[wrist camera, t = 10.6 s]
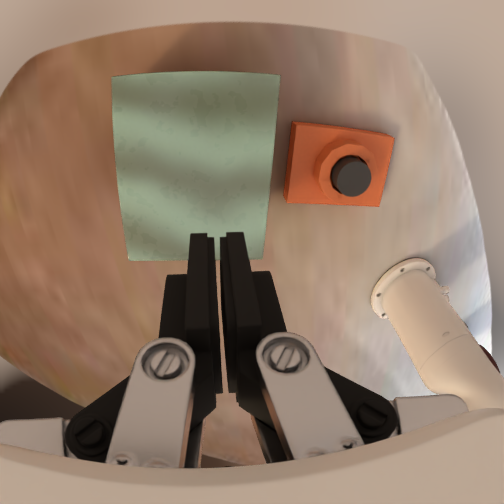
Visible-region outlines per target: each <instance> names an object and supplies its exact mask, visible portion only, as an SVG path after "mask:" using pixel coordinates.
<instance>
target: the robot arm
mask: <svg viewBox="0 0 504 504" xmlns="http://www.w3.org/2000/svg"><path fill="white" fill-rule="evenodd" d="M435 279H436V273H435V270H434V268H433V267H432V265H431V264H430V263H429V262H428V261H426V260H424V259H420V258H413V259H409V260H406V261H403V262H400V263H399V264H397V265H395V266H394V267H392V268H391V269H390V270H388V271H387V272H386V273H385V274H384V275H383V276H382V277H381V279H380V280H379V281H378V283H377V284H376V286H375V287H374V290H373V292H372V296H371V306H372V308H373V310H374V312H375V313H376V314H377V316H379V317H381V318H384V319H389V320H390V322H391V323H392V325H393V327H394V329H395V330H396V332H397V334H398V336H399V338H400V339H401V341H402V343H403V345H404V347H405V349H406V350H407V352H408V354H409V356H410V358H411V360H412V362H413V364H414V366H415V367H416V369H417V371H418V373H419V375H420V377H421V379H422V381H423V383H424V384H425V386H426V387H427V388H428V389H429V390H430V391H432V392H434V393H436V394H439V395H430V396H414V397H396V398H395V399H394V400H393V401H388V400H387V399H385V398H384V397H382V396H380V395H378V394H376V393H374V392H372V391H370V390H368V389H366V388H364V387H362V386H360V385H358V384H357V383H355V382H353V381H351V380H349V379H347V378H345V377H343V376H341V375H339V374H337V373H335V372H334V371H332V370H330V369H328V368H326V367H324V366H323V364H322V362H321V360H320V358H319V356H318V355H317V353H316V351H315V349H314V347H313V346H312V345H311V343H310V342H309V341H308V340H307V339H305V338H304V337H303V336H300V335H298V334H295V333H291V332H287V330H286V326H285V323H284V319H283V315H282V312H281V308H280V304H279V301H278V297H277V294H276V290H275V286H274V283H273V279H272V276H271V273H270V271H257V272H252V271H251V266H250V261H249V256H248V251H247V246H246V241H245V236H244V232H226V237H220V283H221V310H222V323H223V336H224V347H225V359H226V370H227V381H228V391H229V393H236V400H237V402H239V406H240V407H241V408H243V409H244V410H246V411H247V412H249V413H250V414H251V420H252V423H253V426H254V429H255V432H256V435H257V438H258V441H259V444H260V446H261V449H262V452H263V455H264V458H265V461H266V464H261V465H251V466H239V467H223V468H200V465H201V457H202V448H203V440H204V431H205V423H206V419H205V417H206V416H207V415H208V414H210V413H211V412H212V411H213V410H214V409H215V408H216V394H219V393H223V388H222V371H221V352H220V332H219V315H218V300H217V282H216V264H215V243H214V237H208V235H207V233H190V243H189V256H188V270H187V274H177V275H167V277H166V283H165V290H164V298H163V306H162V314H161V322H160V331H159V338H158V339H154V340H152V341H150V342H148V343H146V344H145V345H144V346H143V347H142V348H141V349H140V350H139V352H138V354H137V356H136V359H135V362H134V365H133V368H132V371H131V374H130V376H128V377H127V378H126V379H124V380H123V381H121V382H120V383H119V384H117V385H116V386H115V387H113V388H112V389H111V390H109V391H108V392H106V393H105V394H104V395H102V396H101V397H99V398H98V399H97V400H95V401H94V402H93V403H91V404H90V405H88V406H87V407H86V408H84V409H83V410H81V411H80V412H79V413H77V414H76V415H75V416H74V417H73V418H72V419H71V420H64V419H63V418H62V417H59V418H44V419H26V420H25V419H24V420H7V421H3V422H2V423H0V504H504V378H503V377H502V375H501V374H500V373H499V372H498V370H497V369H496V368H495V367H494V365H493V364H492V363H491V362H490V360H489V359H488V357H487V356H486V354H485V353H484V352H483V350H482V349H481V347H480V346H479V344H478V343H477V341H476V340H475V338H474V337H473V336H472V334H471V333H470V331H469V330H468V328H467V327H466V325H465V324H464V323H463V321H462V320H461V318H460V317H459V316H458V314H457V313H456V311H455V310H454V309H453V307H452V306H451V305H450V303H449V297H448V296H447V295H443V294H447V293H449V287H448V286H442V287H440V286H439V285H438V283H437V282H436V281H435Z"/></svg>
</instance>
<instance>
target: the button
mask: <svg viewBox="0 0 504 504" xmlns="http://www.w3.org/2000/svg"><path fill="white" fill-rule="evenodd" d="M331 177H332V182H333V184H334V185H335V186H336V187H337V189H338V190H339V191H340V192H341V193H342V194H344V195H345V196H348V197H356V196H359V195H361V194H362V193H364V192H365V191H366V190H367V189H368V187H369V185H370V183H371V171H370V169H369V168H368V166H367V165H366V164H364V163H363V162H362V161H360V160H359V159H358V158H356V157H350V156H349V157H344V158H342V159H340V160H339V161H338V162H337V163H336V164H335V165H334V167H333V169H332V174H331Z"/></svg>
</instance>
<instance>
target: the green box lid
mask: <svg viewBox="0 0 504 504" xmlns="http://www.w3.org/2000/svg"><path fill="white" fill-rule="evenodd" d="M280 78H281V75H278V74H267V73H253V72H233V71H175V72H155V73H142V74H131V75H121V76H113V77H112V117H113V136H114V151H115V163H116V173H117V183H118V192H119V200H120V208H121V215H122V222H123V229H124V236H125V242H126V248H127V254H128V259H129V261H160V260H188V256H189V243H190V233H207V235H208V237H214V243H215V260H220V237H226V232H244V236H245V241H246V246H247V251H248V256H249V260H252V259H263V252H264V243H265V233H266V223H267V214H268V204H269V194H270V184H271V174H272V164H273V153H274V143H275V132H276V122H277V111H278V100H279V89H280Z"/></svg>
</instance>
